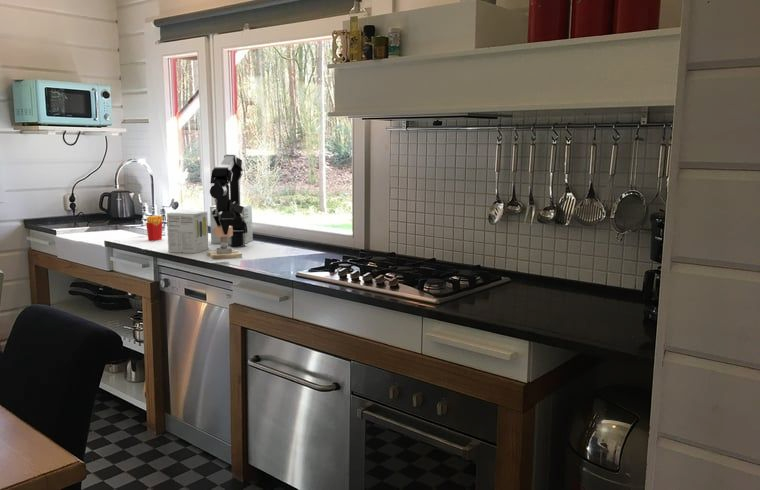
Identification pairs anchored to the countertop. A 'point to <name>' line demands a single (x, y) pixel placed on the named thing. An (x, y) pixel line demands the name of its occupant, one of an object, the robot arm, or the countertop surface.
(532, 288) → the countertop surface
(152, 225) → the french fries
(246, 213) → the supplement box
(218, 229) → the ring
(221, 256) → the post stand
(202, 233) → the supplement box
